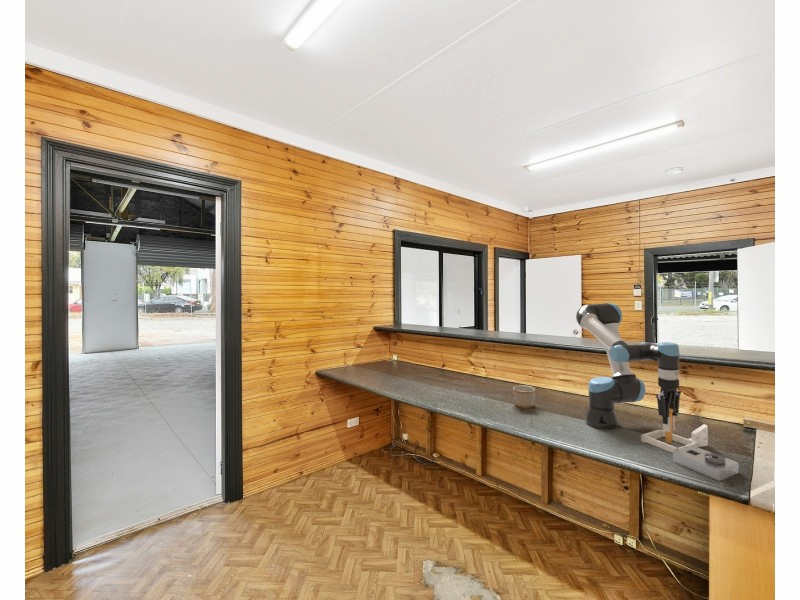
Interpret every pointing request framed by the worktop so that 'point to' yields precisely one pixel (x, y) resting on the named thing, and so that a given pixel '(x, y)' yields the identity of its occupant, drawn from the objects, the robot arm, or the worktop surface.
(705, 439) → the white wedge bracket
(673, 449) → the tray
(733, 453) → the worktop surface
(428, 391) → the worktop surface
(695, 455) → the block
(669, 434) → the lock pin
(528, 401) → the planter
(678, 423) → the worktop surface
